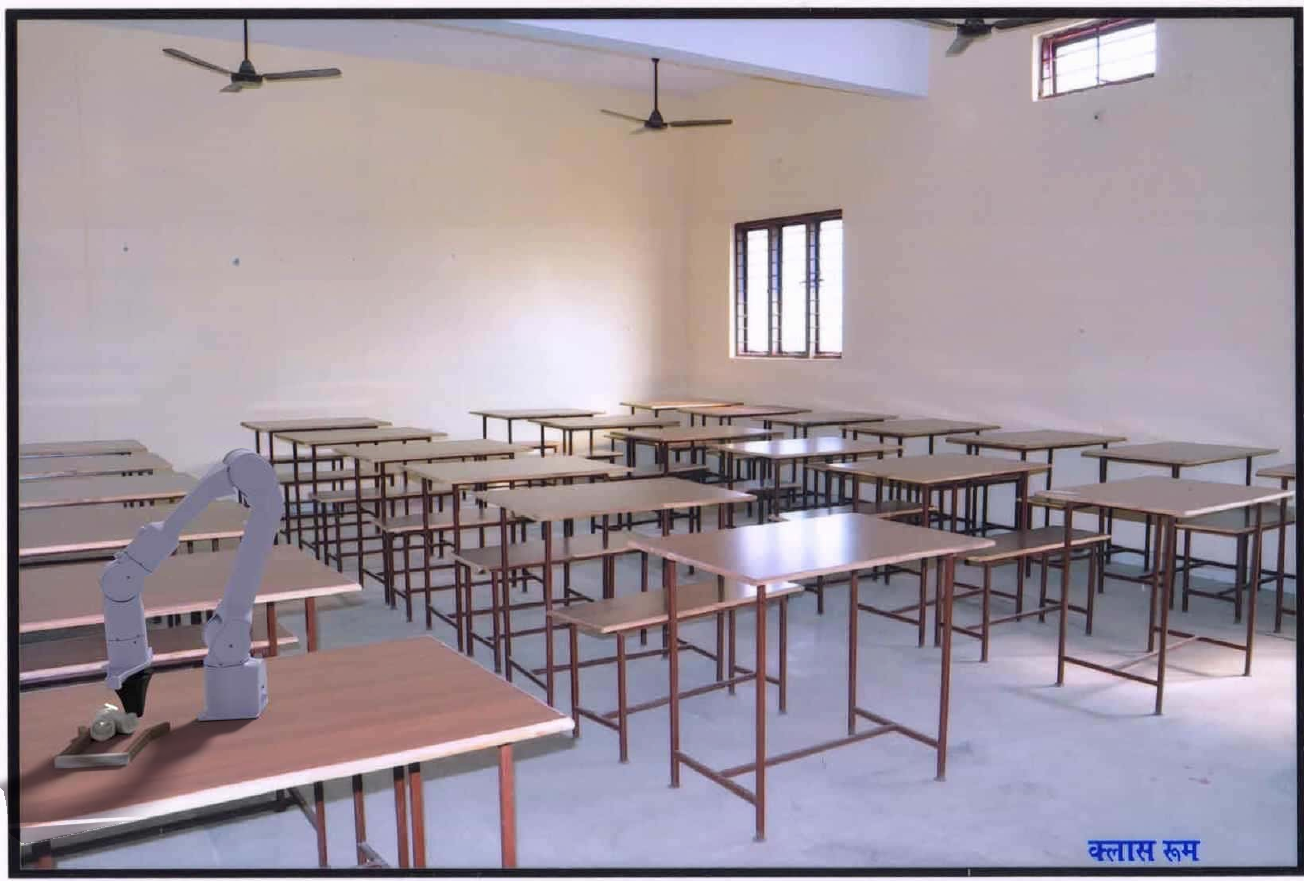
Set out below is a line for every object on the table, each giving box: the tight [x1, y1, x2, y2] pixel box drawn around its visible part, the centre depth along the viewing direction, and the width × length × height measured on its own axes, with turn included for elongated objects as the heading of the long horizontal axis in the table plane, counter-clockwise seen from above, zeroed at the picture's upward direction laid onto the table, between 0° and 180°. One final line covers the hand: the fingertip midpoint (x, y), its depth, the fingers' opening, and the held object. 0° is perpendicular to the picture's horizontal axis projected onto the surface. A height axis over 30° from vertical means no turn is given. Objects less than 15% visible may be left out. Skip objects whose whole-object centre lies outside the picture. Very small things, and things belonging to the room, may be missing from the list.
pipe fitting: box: [89, 702, 140, 742], centre depth 163 cm, size 8×4×7 cm
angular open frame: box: [53, 721, 171, 769], centre depth 156 cm, size 14×13×2 cm
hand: (134, 717), depth 163 cm, fingers closed, pressing on pipe fitting
